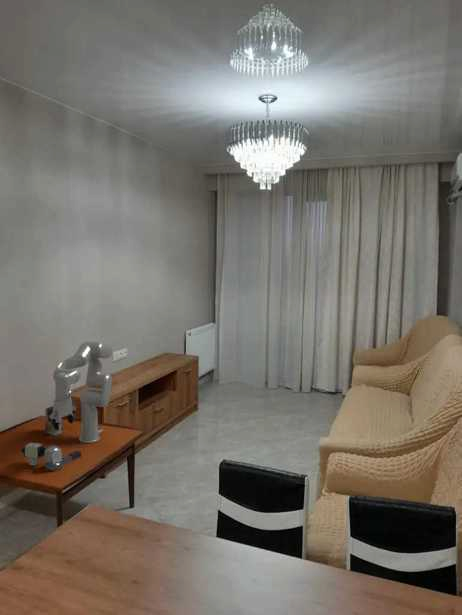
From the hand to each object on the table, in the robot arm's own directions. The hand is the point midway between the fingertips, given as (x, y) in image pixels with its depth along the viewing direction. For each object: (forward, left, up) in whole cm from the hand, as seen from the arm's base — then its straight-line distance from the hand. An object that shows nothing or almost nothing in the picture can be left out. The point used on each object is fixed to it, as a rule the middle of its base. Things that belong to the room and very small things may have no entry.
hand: (63, 425), depth 254 cm
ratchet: (-1, 0, -22) cm, 22 cm away
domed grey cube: (+6, 0, -18) cm, 19 cm away
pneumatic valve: (+9, -12, -22) cm, 27 cm away
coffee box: (-27, -38, -22) cm, 52 cm away
